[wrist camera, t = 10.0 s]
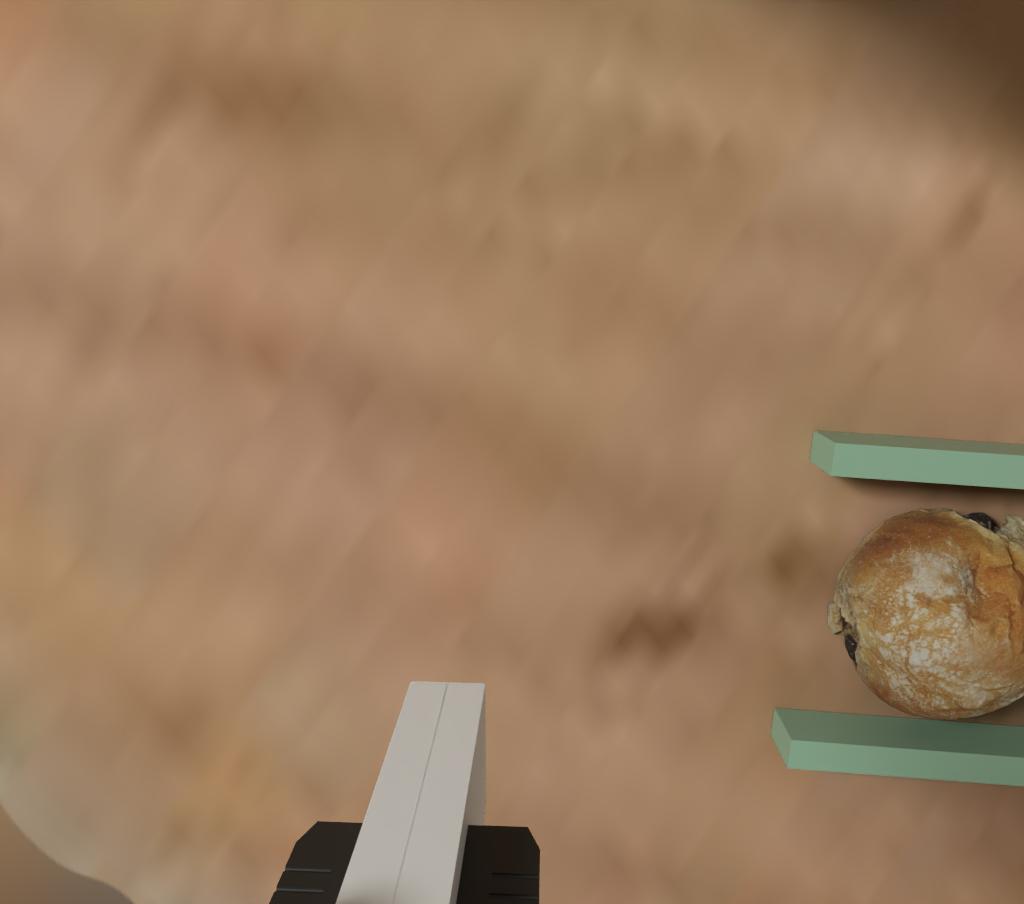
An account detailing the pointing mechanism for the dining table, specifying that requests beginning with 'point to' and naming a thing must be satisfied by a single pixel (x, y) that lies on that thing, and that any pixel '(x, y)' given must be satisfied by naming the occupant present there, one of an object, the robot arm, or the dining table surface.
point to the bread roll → (936, 612)
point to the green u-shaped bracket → (895, 739)
